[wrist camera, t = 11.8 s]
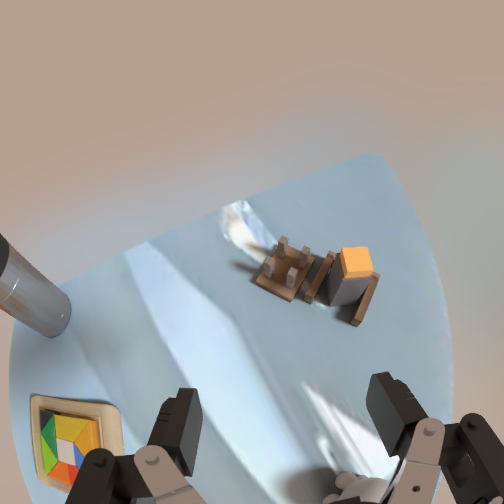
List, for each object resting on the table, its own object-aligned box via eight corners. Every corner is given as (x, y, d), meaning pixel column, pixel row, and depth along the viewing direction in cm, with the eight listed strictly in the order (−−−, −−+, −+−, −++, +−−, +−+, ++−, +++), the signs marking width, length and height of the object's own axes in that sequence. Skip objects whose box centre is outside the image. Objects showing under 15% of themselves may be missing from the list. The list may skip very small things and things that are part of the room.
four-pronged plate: (255, 284, 42) (254, 267, 38) (281, 246, 46) (282, 227, 42) (291, 302, 40) (293, 287, 36) (314, 261, 44) (318, 243, 40)
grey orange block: (329, 306, 40) (345, 274, 31) (325, 282, 42) (339, 245, 33) (354, 304, 39) (376, 272, 31) (350, 280, 42) (368, 244, 33)
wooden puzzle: (37, 394, 32) (24, 391, 29) (121, 405, 33) (110, 403, 30) (45, 482, 23) (32, 484, 20) (135, 508, 23) (125, 514, 20)
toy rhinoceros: (368, 515, 23) (405, 534, 15) (310, 506, 22) (346, 535, 15) (393, 478, 26) (433, 491, 18) (340, 463, 26) (383, 483, 18)
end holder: (303, 300, 40) (305, 293, 38) (326, 258, 44) (329, 250, 42) (356, 327, 37) (361, 321, 35) (375, 282, 41) (380, 274, 39)
